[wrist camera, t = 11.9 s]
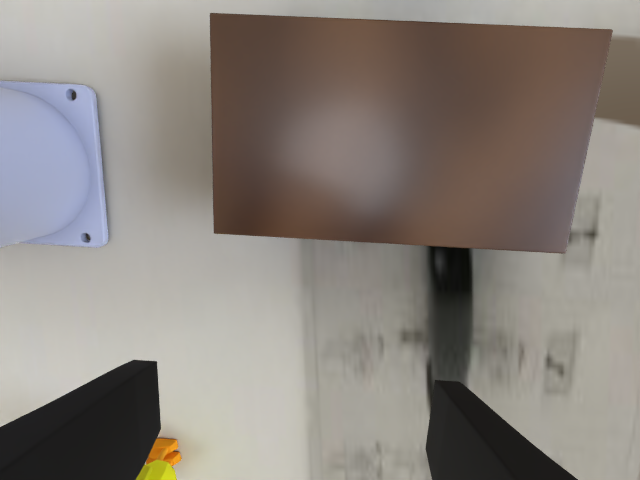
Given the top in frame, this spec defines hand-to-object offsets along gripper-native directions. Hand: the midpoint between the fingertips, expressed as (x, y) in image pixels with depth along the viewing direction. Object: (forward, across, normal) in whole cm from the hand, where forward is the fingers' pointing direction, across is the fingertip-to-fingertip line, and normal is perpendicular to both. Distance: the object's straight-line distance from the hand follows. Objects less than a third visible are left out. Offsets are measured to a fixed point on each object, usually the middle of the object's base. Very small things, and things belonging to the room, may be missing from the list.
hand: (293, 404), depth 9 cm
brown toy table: (+10, -3, -7) cm, 13 cm away
